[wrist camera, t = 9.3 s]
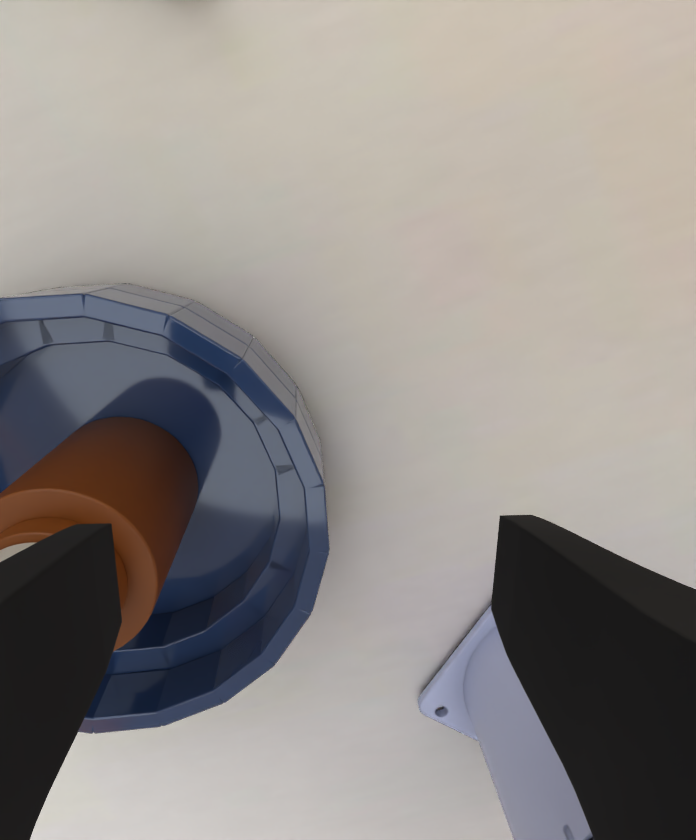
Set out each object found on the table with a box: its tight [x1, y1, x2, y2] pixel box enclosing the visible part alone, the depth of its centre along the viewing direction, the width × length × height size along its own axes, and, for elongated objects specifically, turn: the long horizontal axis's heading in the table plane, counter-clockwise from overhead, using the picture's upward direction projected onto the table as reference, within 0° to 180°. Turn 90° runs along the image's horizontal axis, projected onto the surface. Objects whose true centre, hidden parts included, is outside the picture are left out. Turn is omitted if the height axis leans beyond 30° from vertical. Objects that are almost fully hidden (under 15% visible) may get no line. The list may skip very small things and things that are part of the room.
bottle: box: [0, 417, 198, 651], centre depth 16 cm, size 5×5×8 cm
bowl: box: [0, 283, 329, 734], centre depth 18 cm, size 13×13×4 cm
